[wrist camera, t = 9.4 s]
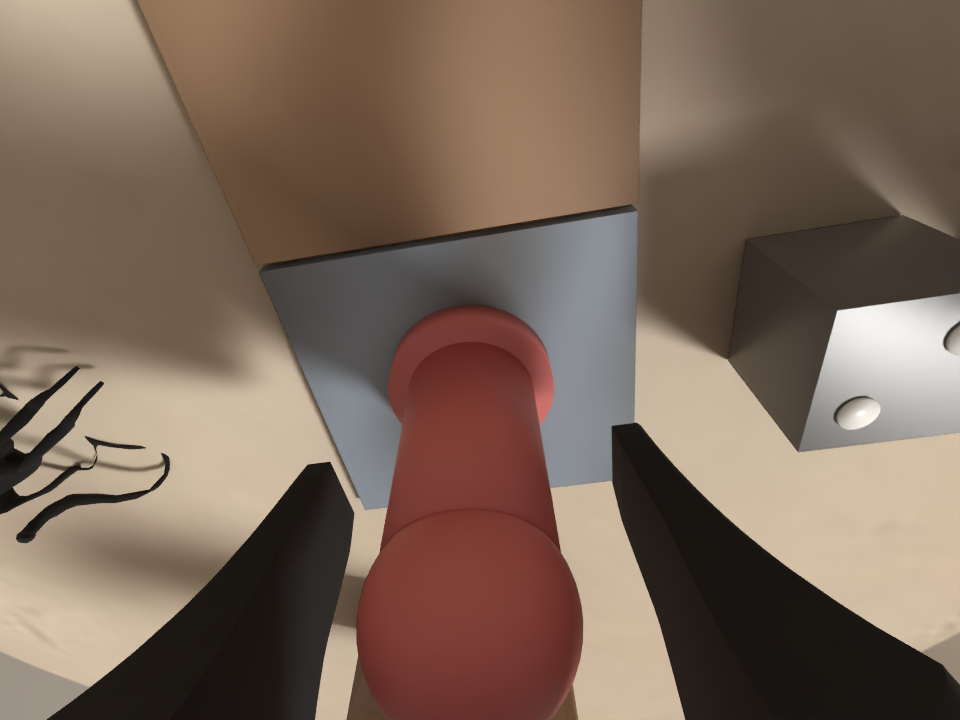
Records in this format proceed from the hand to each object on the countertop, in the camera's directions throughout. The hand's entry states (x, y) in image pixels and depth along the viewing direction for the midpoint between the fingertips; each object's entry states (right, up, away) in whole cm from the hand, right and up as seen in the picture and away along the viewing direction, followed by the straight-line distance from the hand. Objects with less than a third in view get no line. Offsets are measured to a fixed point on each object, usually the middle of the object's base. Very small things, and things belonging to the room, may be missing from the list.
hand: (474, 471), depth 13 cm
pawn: (0, +2, +2) cm, 3 cm away
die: (+10, +5, +1) cm, 11 cm away
